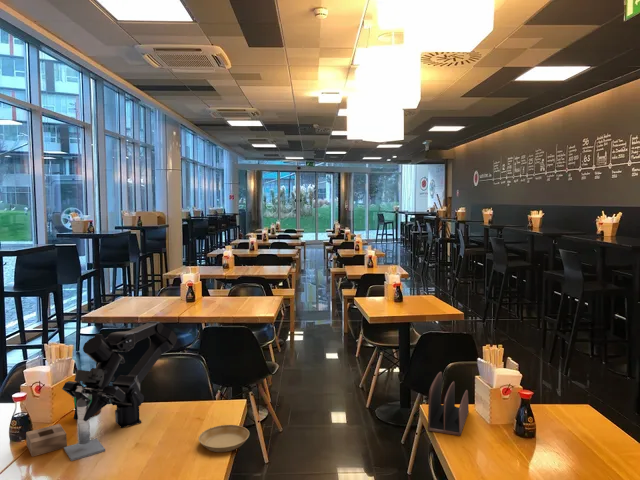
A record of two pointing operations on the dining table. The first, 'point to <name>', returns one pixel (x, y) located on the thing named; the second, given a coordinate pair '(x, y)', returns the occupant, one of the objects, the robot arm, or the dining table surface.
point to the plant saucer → (224, 438)
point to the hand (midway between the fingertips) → (79, 420)
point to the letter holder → (446, 409)
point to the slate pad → (84, 449)
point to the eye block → (46, 439)
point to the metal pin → (83, 425)
